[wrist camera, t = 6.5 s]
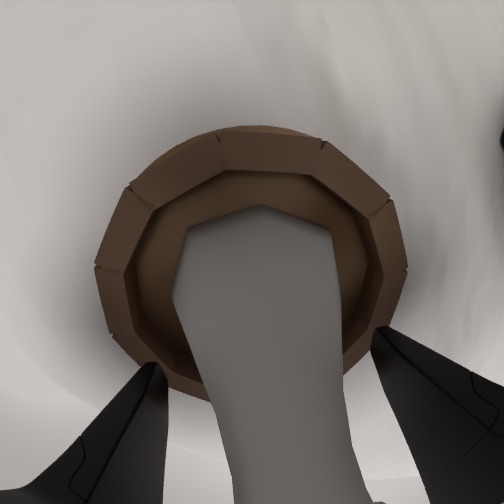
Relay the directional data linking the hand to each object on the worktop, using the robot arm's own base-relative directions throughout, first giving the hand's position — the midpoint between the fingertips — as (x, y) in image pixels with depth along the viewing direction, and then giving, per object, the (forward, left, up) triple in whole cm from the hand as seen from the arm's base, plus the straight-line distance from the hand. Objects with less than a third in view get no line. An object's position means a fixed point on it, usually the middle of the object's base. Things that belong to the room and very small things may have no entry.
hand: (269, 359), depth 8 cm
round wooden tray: (0, 0, -5) cm, 5 cm away
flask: (0, 0, -4) cm, 4 cm away
